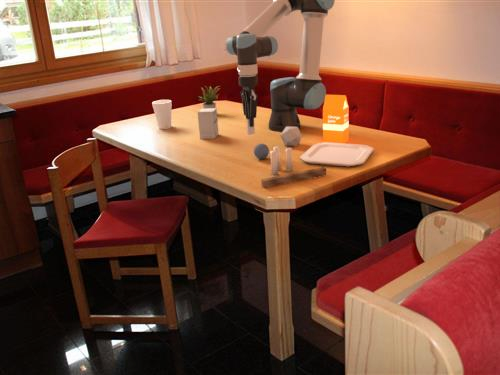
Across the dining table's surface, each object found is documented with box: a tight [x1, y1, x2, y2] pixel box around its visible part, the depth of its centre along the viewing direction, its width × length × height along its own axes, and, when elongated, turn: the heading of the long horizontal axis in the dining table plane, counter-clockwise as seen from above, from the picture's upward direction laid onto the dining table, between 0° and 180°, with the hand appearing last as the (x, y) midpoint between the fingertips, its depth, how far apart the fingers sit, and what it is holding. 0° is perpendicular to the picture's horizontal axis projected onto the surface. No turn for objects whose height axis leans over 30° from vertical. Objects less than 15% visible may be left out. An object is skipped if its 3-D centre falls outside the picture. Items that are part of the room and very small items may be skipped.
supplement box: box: [197, 107, 219, 140], centre depth 240 cm, size 7×7×13 cm
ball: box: [253, 143, 270, 160], centre depth 206 cm, size 6×6×6 cm
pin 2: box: [285, 147, 294, 173], centre depth 190 cm, size 2×2×8 cm
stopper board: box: [260, 166, 327, 188], centre depth 182 cm, size 24×2×2 cm, turn 112°
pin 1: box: [269, 150, 279, 176], centre depth 188 cm, size 2×2×8 cm
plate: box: [299, 142, 375, 168], centre depth 204 cm, size 25×25×2 cm
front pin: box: [273, 145, 282, 171], centre depth 193 cm, size 2×2×8 cm
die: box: [280, 127, 303, 147], centre depth 221 cm, size 8×9×10 cm
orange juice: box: [322, 94, 350, 144], centre depth 219 cm, size 8×9×20 cm
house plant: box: [198, 85, 221, 109], centre depth 280 cm, size 14×14×16 cm
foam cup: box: [151, 99, 173, 130], centre depth 262 cm, size 10×9×13 cm
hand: (250, 133), depth 213 cm, fingers closed
